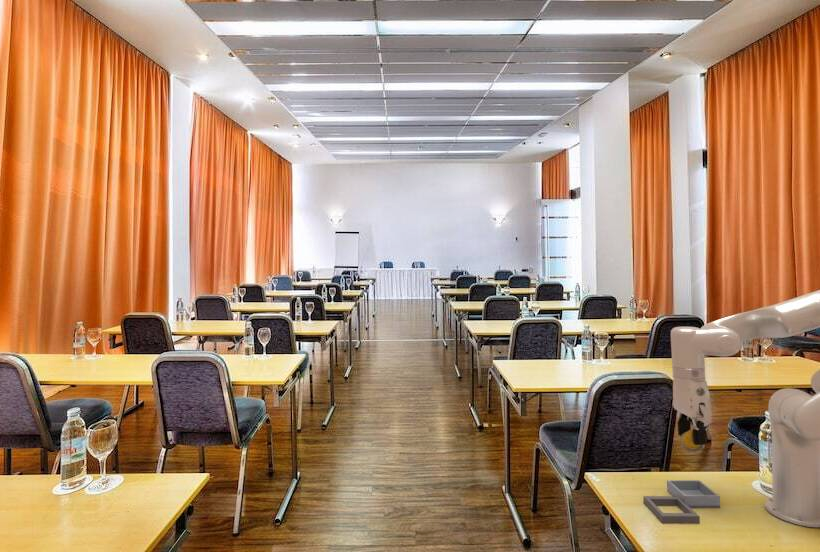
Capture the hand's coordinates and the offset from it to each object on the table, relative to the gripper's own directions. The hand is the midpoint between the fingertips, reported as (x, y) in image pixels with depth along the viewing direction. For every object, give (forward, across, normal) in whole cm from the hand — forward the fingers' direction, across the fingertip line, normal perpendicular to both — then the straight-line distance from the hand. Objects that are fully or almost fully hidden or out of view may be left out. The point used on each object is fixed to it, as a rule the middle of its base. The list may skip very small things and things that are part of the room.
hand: (692, 439), depth 123 cm
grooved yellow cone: (+3, 0, 0) cm, 3 cm away
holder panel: (+17, -5, +10) cm, 20 cm away
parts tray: (+17, +1, 0) cm, 17 cm away
